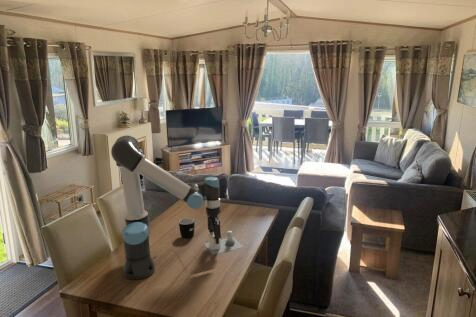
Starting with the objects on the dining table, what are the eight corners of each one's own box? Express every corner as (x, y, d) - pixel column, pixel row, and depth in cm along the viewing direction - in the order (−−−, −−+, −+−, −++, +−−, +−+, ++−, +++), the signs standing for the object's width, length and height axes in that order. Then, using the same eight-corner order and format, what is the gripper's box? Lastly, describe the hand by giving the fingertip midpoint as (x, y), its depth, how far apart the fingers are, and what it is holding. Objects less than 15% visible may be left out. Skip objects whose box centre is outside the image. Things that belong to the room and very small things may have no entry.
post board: (212, 256, 188) (211, 242, 186) (203, 245, 201) (203, 231, 199) (243, 249, 196) (243, 235, 194) (233, 238, 208) (232, 225, 206)
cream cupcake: (211, 250, 192) (210, 238, 190) (207, 246, 197) (207, 234, 196) (222, 248, 194) (221, 236, 193) (217, 243, 200) (217, 232, 198)
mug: (190, 241, 205) (189, 225, 203) (176, 239, 209) (175, 223, 207) (200, 233, 216) (199, 217, 214) (187, 230, 220) (186, 215, 217)
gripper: (226, 210, 183) (227, 252, 189) (213, 199, 200) (215, 237, 206) (212, 213, 180) (214, 255, 186) (200, 201, 197) (202, 240, 203)
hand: (214, 246), depth 196 cm, fingers closed on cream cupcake, 6 cm apart
